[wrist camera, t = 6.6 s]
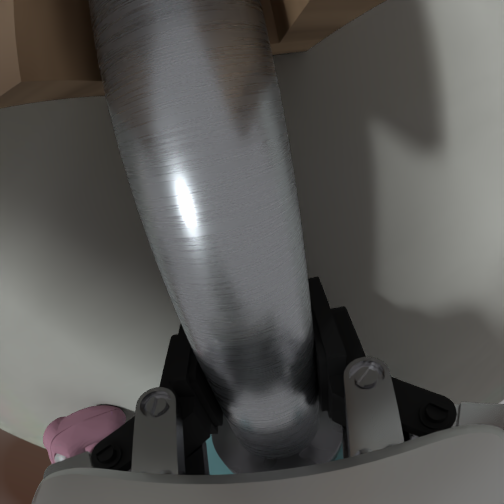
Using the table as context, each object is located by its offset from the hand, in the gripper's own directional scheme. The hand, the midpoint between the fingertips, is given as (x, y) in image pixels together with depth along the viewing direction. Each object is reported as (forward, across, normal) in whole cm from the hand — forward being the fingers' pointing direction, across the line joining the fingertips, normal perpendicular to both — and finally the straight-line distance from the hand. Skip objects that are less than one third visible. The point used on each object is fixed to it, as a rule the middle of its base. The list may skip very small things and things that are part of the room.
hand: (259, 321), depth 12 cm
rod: (0, 0, 0) cm, 0 cm away
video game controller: (+2, +14, +12) cm, 19 cm away
